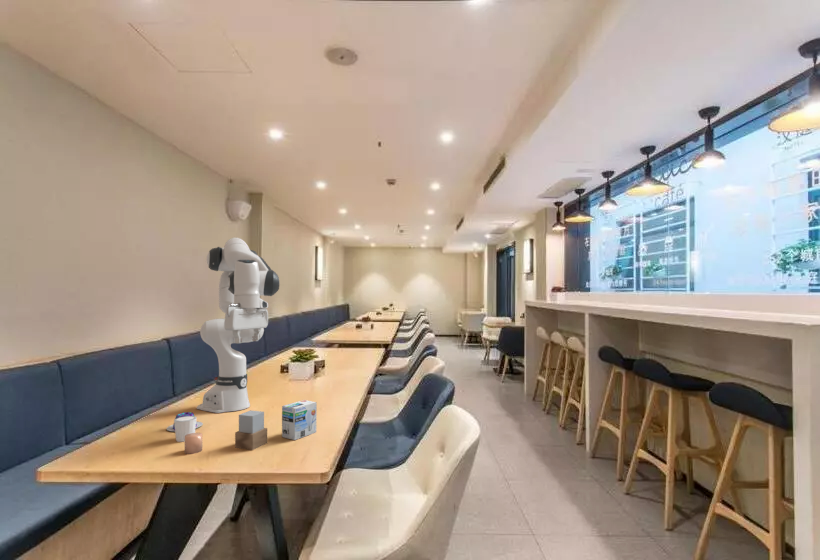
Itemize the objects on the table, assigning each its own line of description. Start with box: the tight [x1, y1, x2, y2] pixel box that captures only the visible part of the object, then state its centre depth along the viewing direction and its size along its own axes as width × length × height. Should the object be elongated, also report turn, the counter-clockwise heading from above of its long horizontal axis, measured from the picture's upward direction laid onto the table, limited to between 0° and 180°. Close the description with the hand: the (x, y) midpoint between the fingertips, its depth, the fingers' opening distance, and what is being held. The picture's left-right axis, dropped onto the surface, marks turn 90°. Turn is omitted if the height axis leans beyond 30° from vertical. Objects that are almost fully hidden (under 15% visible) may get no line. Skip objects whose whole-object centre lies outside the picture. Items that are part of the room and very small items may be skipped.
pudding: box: [166, 411, 204, 432], centre depth 161 cm, size 12×12×5 cm
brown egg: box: [184, 432, 203, 455], centre depth 136 cm, size 5×5×5 cm
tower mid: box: [238, 410, 265, 434], centre depth 141 cm, size 6×6×6 cm
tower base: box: [234, 427, 268, 451], centre depth 141 cm, size 7×7×5 cm
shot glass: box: [173, 415, 198, 443], centre depth 148 cm, size 7×7×7 cm
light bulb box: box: [281, 399, 318, 441], centre depth 151 cm, size 11×7×11 cm, turn 148°
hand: (247, 342), depth 155 cm, fingers open, 8 cm apart
